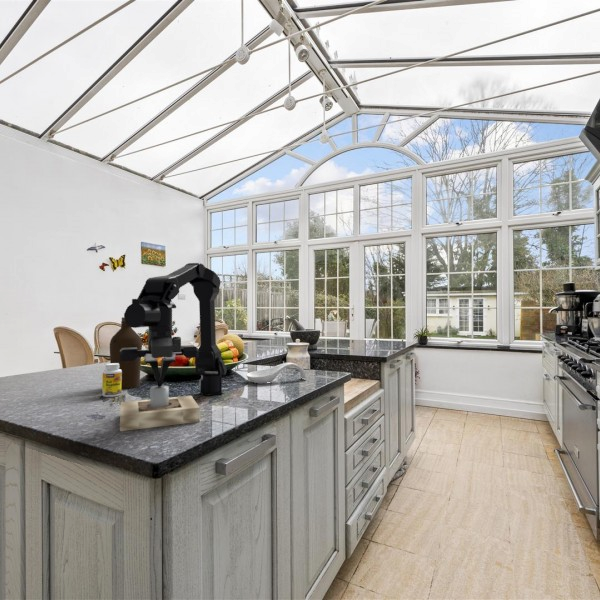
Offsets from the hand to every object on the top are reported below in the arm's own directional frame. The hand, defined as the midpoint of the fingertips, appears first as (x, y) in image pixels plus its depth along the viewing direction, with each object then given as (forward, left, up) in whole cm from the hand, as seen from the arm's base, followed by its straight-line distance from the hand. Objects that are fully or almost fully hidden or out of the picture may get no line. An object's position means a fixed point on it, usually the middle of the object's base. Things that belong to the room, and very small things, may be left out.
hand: (159, 386), depth 96 cm
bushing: (0, 0, -8) cm, 8 cm away
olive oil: (+8, -46, -8) cm, 47 cm away
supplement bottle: (+12, -33, -8) cm, 36 cm away
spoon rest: (-45, -33, -9) cm, 57 cm away
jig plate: (0, 0, -8) cm, 8 cm away
